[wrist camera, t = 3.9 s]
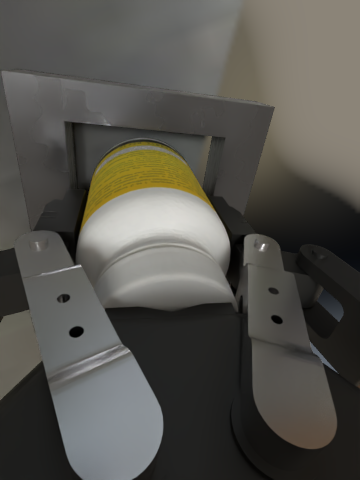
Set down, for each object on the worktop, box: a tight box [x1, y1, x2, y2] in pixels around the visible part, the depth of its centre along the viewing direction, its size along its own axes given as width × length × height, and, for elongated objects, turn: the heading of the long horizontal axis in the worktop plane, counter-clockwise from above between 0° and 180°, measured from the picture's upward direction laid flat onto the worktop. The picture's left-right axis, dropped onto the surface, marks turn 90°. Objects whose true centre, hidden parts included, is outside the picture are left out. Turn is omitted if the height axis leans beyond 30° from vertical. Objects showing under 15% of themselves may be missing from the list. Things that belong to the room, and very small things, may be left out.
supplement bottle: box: [76, 138, 238, 312], centre depth 11 cm, size 5×5×10 cm
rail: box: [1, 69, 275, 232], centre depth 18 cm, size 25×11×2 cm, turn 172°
